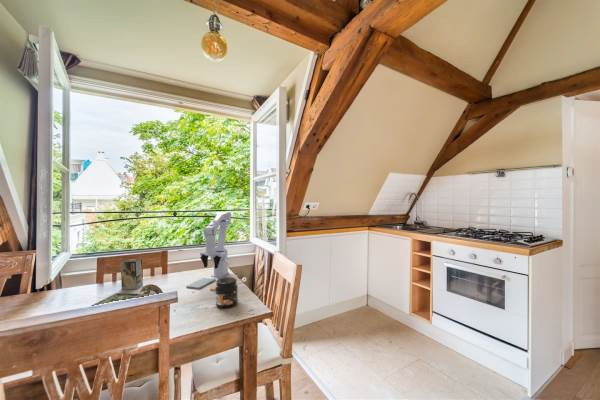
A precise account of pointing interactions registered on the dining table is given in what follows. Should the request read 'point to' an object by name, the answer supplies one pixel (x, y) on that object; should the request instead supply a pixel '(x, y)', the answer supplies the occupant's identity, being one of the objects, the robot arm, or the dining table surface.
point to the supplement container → (226, 292)
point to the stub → (215, 286)
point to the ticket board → (201, 283)
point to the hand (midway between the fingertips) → (211, 267)
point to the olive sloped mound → (145, 291)
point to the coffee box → (131, 274)
